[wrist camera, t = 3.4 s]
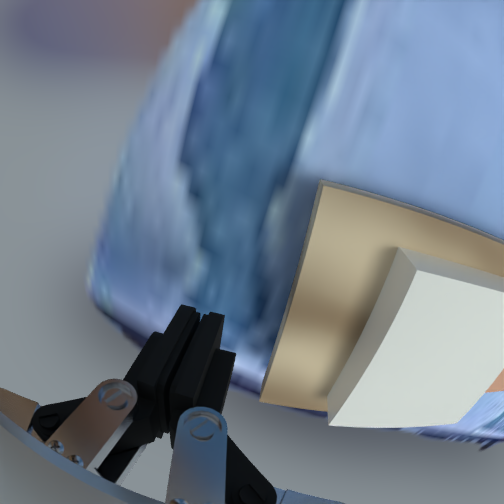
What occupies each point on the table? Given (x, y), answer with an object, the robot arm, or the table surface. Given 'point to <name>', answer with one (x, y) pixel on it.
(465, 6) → the table surface
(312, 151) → the table surface
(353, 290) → the serving board
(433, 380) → the coaster
